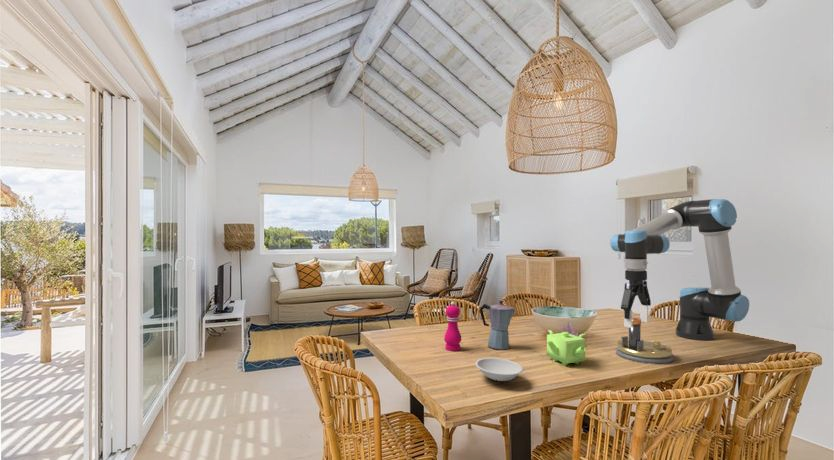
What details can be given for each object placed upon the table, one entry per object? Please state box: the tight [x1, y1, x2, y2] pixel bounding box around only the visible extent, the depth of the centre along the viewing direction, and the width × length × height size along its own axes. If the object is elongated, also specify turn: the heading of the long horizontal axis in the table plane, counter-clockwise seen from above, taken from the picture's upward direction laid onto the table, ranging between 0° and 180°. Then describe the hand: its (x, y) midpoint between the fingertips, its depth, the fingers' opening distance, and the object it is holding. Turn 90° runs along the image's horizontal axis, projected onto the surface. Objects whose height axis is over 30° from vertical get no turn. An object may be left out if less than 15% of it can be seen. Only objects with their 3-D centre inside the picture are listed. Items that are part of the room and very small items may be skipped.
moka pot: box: [479, 300, 517, 351], centre depth 175 cm, size 10×15×20 cm, turn 78°
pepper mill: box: [443, 301, 462, 352], centre depth 173 cm, size 7×7×20 cm
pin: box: [628, 317, 642, 351], centre depth 160 cm, size 4×4×12 cm
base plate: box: [615, 347, 674, 365], centre depth 164 cm, size 20×20×2 cm
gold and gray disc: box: [616, 335, 673, 359], centre depth 164 cm, size 19×19×6 cm
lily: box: [559, 320, 579, 337], centre depth 177 cm, size 12×12×10 cm
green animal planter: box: [546, 329, 587, 366], centre depth 156 cm, size 15×14×11 cm
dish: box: [475, 357, 524, 382], centre depth 137 cm, size 18×14×5 cm
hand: (636, 324), depth 159 cm, fingers open, 13 cm apart
